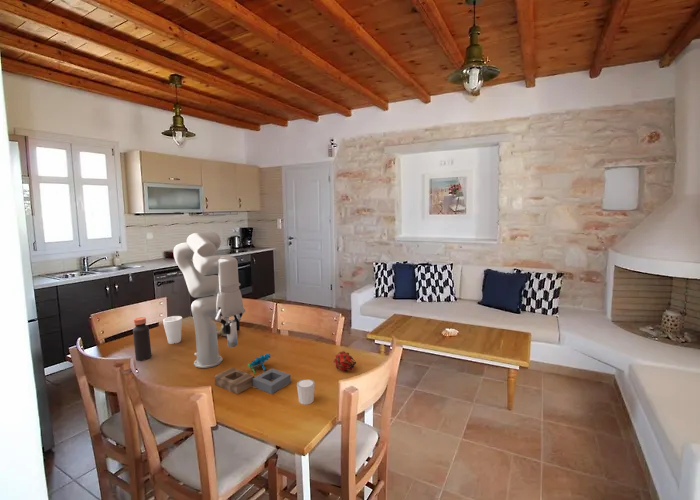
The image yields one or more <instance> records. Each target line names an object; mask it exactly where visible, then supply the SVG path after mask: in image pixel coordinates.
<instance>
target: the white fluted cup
mask: <svg viewBox="0 0 700 500" xmlns="http://www.w3.org/2000/svg"><path fill="white" fill-rule="evenodd" d="M315 384H316V383H315V380H313V379H308V378H307V379H301V380H299V381H297V382H296V388H297V395H298V396H297V397H298V403H299V404H300V405H303V406H304V405H305V406H306V405H311V404H312V403H313V402H314V400H315V388H316V387H315Z"/></svg>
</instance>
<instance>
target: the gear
mask: <svg viewBox="0 0 700 500" xmlns="http://www.w3.org/2000/svg"><path fill="white" fill-rule="evenodd" d="M271 356H272V355H271V353H265V354H264V355H263V354H262V355H260V356H259V357H256V358H255V359H254V360H252V361H251V363H247V367H248V368H250V370H252V371H253V374H256V370H255V368H257V367H260V366H261V367H262V370H263V372H266V371H267V369H266V366H265V365H264V364H265V363H266V361H269V359H271Z"/></svg>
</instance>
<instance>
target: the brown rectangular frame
mask: <svg viewBox="0 0 700 500" xmlns="http://www.w3.org/2000/svg"><path fill="white" fill-rule="evenodd" d="M253 378H255V375H253V374H251V373H248V372H245V371H243V370H240V369H237V368H235V367H230V368H229V369H226V370H223V371H222V372H220V373H217V374H215V375H214V386H217V387H220V388H222V389H224V390H226V391H227V392H228V391H229V392H230V393H233V394H235V395H239V394H241V393H243V392H244V391H247V390H248V389H250V388H251V387H253V382H252V379H253Z"/></svg>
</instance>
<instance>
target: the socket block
mask: <svg viewBox="0 0 700 500" xmlns="http://www.w3.org/2000/svg"><path fill="white" fill-rule="evenodd" d="M291 379H292V376H291V374H290V373H287V372H284V371H282V370H278V369H276V368H269V369H268V370H265V371H263V372H262V373H259V374H258V375H257V376H254V378H253V379H252V382H253V386H252V387H253V388H256V389H258V390H260V391H263V392H265V393H268V394H269V395H273V394H274V393H276V392H279V390H282V388H283V389H284V387H286V386H287V385H290V384H291V382H292V380H291Z"/></svg>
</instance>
